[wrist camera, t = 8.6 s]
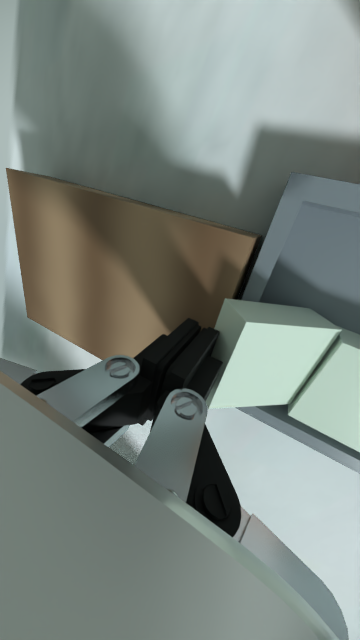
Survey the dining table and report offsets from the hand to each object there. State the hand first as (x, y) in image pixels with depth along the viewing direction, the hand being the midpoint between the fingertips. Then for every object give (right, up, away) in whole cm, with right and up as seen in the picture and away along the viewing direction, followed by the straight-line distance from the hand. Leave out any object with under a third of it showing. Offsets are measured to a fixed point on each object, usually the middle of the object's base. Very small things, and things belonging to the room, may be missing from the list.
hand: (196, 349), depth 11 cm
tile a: (+3, 0, +1) cm, 3 cm away
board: (-5, +4, +6) cm, 8 cm away
